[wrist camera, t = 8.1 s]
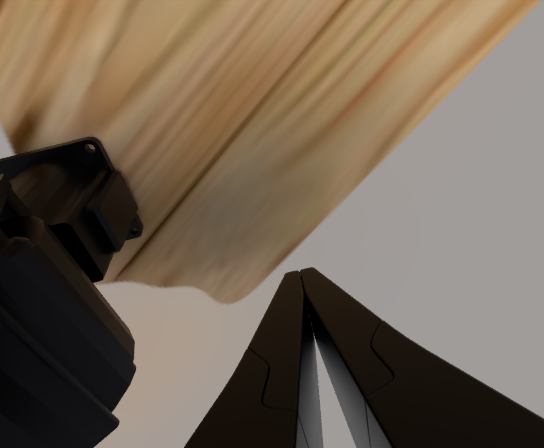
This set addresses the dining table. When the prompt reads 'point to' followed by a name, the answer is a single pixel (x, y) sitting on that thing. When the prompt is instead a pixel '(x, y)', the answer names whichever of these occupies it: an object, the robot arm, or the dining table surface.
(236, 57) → the dining table surface
